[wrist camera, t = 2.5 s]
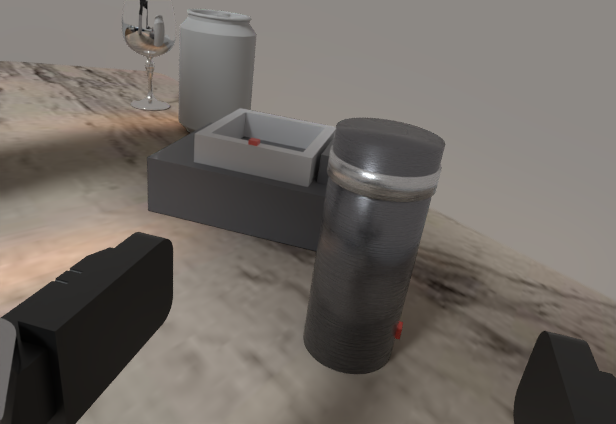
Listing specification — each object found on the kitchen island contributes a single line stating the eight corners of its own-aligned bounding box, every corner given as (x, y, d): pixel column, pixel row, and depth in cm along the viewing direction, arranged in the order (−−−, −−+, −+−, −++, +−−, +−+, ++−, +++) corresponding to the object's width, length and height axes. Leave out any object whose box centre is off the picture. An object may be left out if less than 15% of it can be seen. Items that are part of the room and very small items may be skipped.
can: (233, 118, 58) (240, 9, 53) (259, 139, 52) (270, 19, 47) (170, 120, 54) (170, 3, 49) (190, 142, 49) (193, 13, 43)
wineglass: (185, 105, 60) (187, 0, 55) (155, 115, 55) (154, -1, 50) (146, 96, 62) (144, -8, 57) (113, 104, 57) (108, -9, 52)
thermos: (290, 359, 23) (322, 137, 19) (314, 303, 28) (345, 111, 23) (390, 387, 23) (450, 163, 18) (399, 326, 27) (450, 130, 22)
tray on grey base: (148, 210, 35) (146, 124, 32) (208, 166, 44) (211, 95, 41) (339, 257, 32) (355, 168, 30) (362, 200, 41) (376, 127, 39)
